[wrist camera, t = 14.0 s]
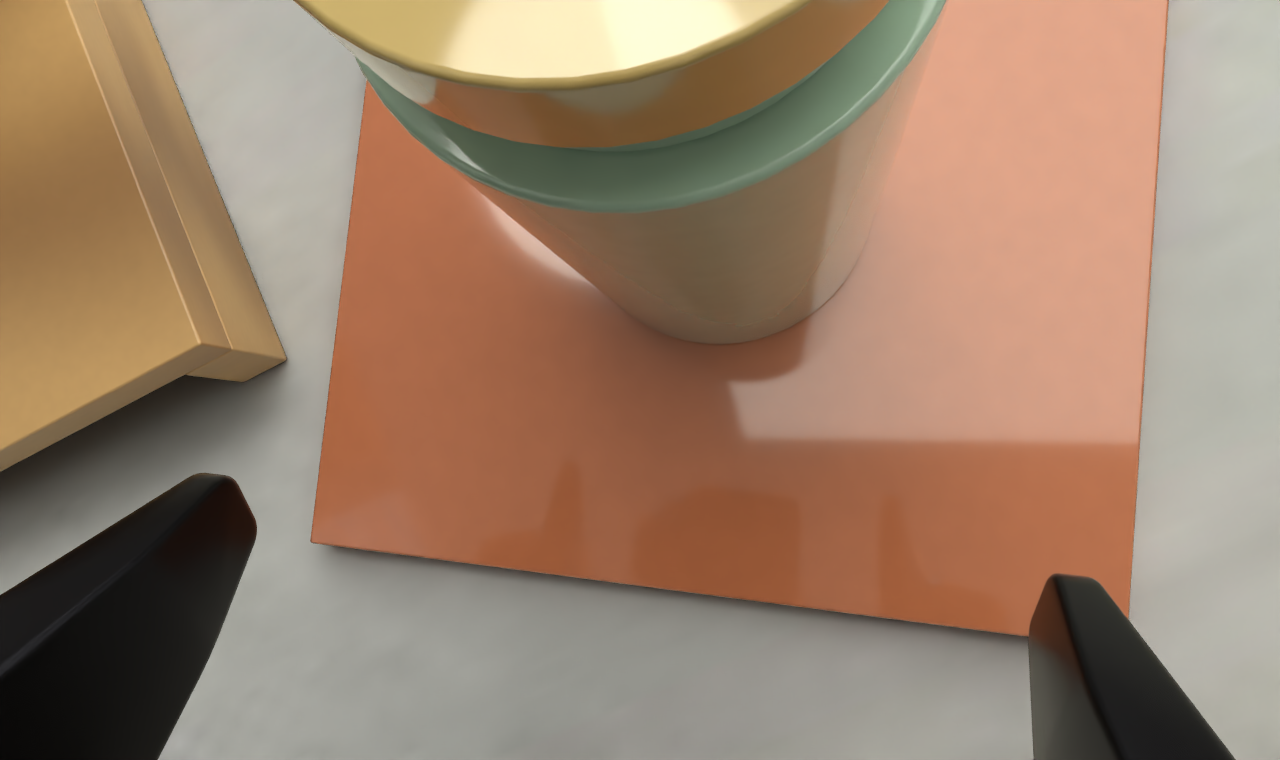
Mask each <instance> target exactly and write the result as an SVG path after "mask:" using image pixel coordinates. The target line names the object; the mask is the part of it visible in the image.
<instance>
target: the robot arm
mask: <svg viewBox="0 0 1280 760" xmlns="http://www.w3.org/2000/svg"><path fill="white" fill-rule="evenodd" d="M256 534H257V525H256V520H255V518H254V516H253V514H252V512H251V510H250V508H249V506H248V504H247V502H246V500H245V498H244V496H243V494H242V492H241V490H240V488H239V486H238V484H237V482H236V481H235V480H234V479H233V478H231V477H230V476H226V475H218V474H209V473H199V474H195V475H192V476H191V477H189V478H187V479H185V480H184V481H182V482H181V483H179V484H177V485H176V486H174V487H173V488H171V489H169V490H168V491H166V492H165V493H163V494H161V495H160V496H158V497H157V498H155V499H153V500H152V501H150V502H149V503H147V504H145V505H144V506H142V507H141V508H139V509H137V510H136V511H134V512H133V513H131V514H129V515H128V516H126V517H125V518H123V519H121V520H120V521H118V522H117V523H115V524H113V525H112V526H110V527H109V528H107V529H105V530H104V531H102V532H101V533H99V534H97V535H96V536H94V537H93V538H91V539H89V540H88V541H86V542H85V543H83V544H81V545H80V546H78V547H77V548H75V549H73V550H72V551H70V552H69V553H67V554H65V555H64V556H62V557H61V558H59V559H57V560H56V561H54V562H53V563H51V564H49V565H48V566H46V567H45V568H43V569H41V570H40V571H38V572H37V573H35V574H33V575H32V576H30V577H29V578H27V579H25V580H24V581H22V582H21V583H19V584H17V585H16V586H14V587H13V588H11V589H9V590H8V591H6V592H5V593H3V594H1V595H0V760H158V758H159V756H160V754H161V752H162V750H163V748H164V746H165V744H166V742H167V740H168V738H169V737H170V735H171V733H172V731H173V729H174V727H175V725H176V723H177V721H178V719H179V717H180V715H181V713H182V711H183V709H184V707H185V705H186V703H187V701H188V699H189V697H190V695H191V693H192V692H193V690H194V688H195V686H196V684H197V682H198V680H199V678H200V676H201V674H202V672H203V670H204V668H205V665H206V663H207V661H208V659H209V657H210V655H211V652H212V650H213V648H214V645H215V643H216V641H217V638H218V636H219V633H220V631H221V628H222V625H223V623H224V620H225V618H226V615H227V613H228V610H229V607H230V605H231V602H232V600H233V597H234V595H235V592H236V589H237V587H238V584H239V582H240V579H241V577H242V574H243V571H244V569H245V566H246V564H247V561H248V559H249V556H250V553H251V551H252V548H253V546H254V543H255V540H256ZM1028 649H1029V669H1030V690H1031V711H1032V732H1033V753H1034V760H1236V759H1235V758H1234V757H1233V756H1232V754H1231V753H1230V752H1229V750H1228V749H1227V748H1226V746H1225V745H1224V744H1223V743H1222V741H1221V740H1220V739H1219V737H1218V736H1217V735H1216V733H1215V732H1214V731H1213V729H1212V728H1211V727H1210V726H1209V724H1208V723H1207V722H1206V720H1205V719H1204V718H1203V716H1202V715H1201V714H1200V713H1199V711H1198V710H1197V709H1196V707H1195V706H1194V705H1193V703H1192V702H1191V701H1190V700H1189V698H1188V697H1187V696H1186V694H1185V693H1184V692H1183V690H1182V689H1181V688H1180V686H1179V685H1178V684H1177V683H1176V681H1175V680H1174V679H1173V677H1172V676H1171V675H1170V673H1169V672H1168V671H1167V670H1166V668H1165V667H1164V666H1163V664H1162V663H1161V662H1160V660H1159V659H1158V658H1157V656H1156V655H1155V654H1154V653H1153V651H1152V650H1151V649H1150V647H1149V646H1148V645H1147V643H1146V642H1145V641H1144V640H1143V638H1142V637H1141V636H1140V634H1139V633H1138V632H1137V630H1136V629H1135V628H1134V626H1133V625H1132V624H1131V623H1130V621H1129V620H1128V619H1127V617H1126V616H1125V615H1124V613H1123V612H1122V611H1121V610H1120V608H1119V607H1118V606H1117V604H1116V603H1115V602H1114V600H1113V599H1112V598H1111V596H1110V595H1109V594H1108V593H1107V591H1106V590H1105V589H1104V587H1103V586H1102V585H1101V584H1100V583H1099V582H1098V581H1097V580H1095V579H1093V578H1091V577H1087V576H1079V575H1070V574H1062V573H1054V574H1052V575H1051V576H1050V577H1049V578H1048V579H1047V581H1046V583H1045V585H1044V588H1043V590H1042V593H1041V596H1040V598H1039V601H1038V603H1037V606H1036V608H1035V611H1034V613H1033V616H1032V618H1031V621H1030V626H1029V634H1028Z"/></svg>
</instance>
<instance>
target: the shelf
mask: <svg viewBox="0 0 1280 760" xmlns="http://www.w3.org/2000/svg"><path fill="white" fill-rule="evenodd" d="M286 359H287V358H286V355H285V353H284V350H283V348H282V345H281V343H280V341H279V338H278V336H277V333H276V331H275V328H274V326H273V323H272V321H271V318H270V316H269V313H268V311H267V309H266V306H265V304H264V301H263V299H262V296H261V294H260V291H259V289H258V286H257V284H256V281H255V279H254V276H253V274H252V272H251V269H250V267H249V264H248V262H247V259H246V257H245V254H244V252H243V249H242V247H241V244H240V242H239V240H238V237H237V235H236V232H235V230H234V227H233V225H232V222H231V220H230V217H229V215H228V212H227V210H226V207H225V205H224V203H223V200H222V198H221V195H220V193H219V190H218V188H217V185H216V183H215V180H214V178H213V175H212V173H211V171H210V168H209V166H208V163H207V161H206V158H205V156H204V153H203V151H202V148H201V146H200V143H199V141H198V138H197V136H196V134H195V131H194V129H193V126H192V124H191V121H190V119H189V116H188V114H187V111H186V109H185V106H184V104H183V101H182V99H181V97H180V94H179V92H178V89H177V87H176V84H175V82H174V79H173V77H172V74H171V72H170V69H169V67H168V65H167V62H166V60H165V57H164V55H163V52H162V50H161V47H160V45H159V42H158V40H157V37H156V35H155V32H154V30H153V28H152V25H151V23H150V20H149V18H148V15H147V13H146V10H145V8H144V5H143V3H142V1H141V0H0V472H1V471H2V470H4V469H6V468H8V467H10V466H12V465H14V464H16V463H18V462H20V461H21V460H23V459H25V458H27V457H29V456H31V455H33V454H35V453H37V452H39V451H40V450H42V449H44V448H46V447H48V446H50V445H52V444H54V443H56V442H57V441H59V440H61V439H63V438H65V437H67V436H69V435H71V434H73V433H75V432H76V431H78V430H80V429H82V428H84V427H86V426H88V425H90V424H92V423H94V422H95V421H97V420H99V419H101V418H103V417H105V416H107V415H109V414H111V413H113V412H114V411H116V410H118V409H120V408H122V407H124V406H126V405H128V404H130V403H131V402H133V401H135V400H137V399H139V398H141V397H143V396H145V395H147V394H149V393H150V392H152V391H154V390H156V389H158V388H160V387H162V386H164V385H166V384H168V383H169V382H171V381H173V380H175V379H177V378H179V377H181V376H183V375H185V374H186V375H190V376H198V377H206V378H214V379H222V380H230V381H238V382H245V381H247V380H249V379H251V378H253V377H255V376H257V375H259V374H260V373H262V372H264V371H266V370H268V369H270V368H272V367H274V366H276V365H278V364H280V363H282V362H284V361H285V360H286Z"/></svg>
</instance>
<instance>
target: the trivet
mask: <svg viewBox="0 0 1280 760" xmlns="http://www.w3.org/2000/svg"><path fill="white" fill-rule="evenodd" d="M1168 4H1169V0H949V2H948V5H947V8H946V11H945V14H944V17H943V20H942V23H941V26H940V28H939V31H938V34H937V37H936V40H935V43H934V46H933V49H932V52H931V55H930V58H929V61H928V64H927V66H926V69H925V72H924V75H923V78H922V81H921V84H920V87H919V90H918V93H917V96H916V99H915V102H914V104H913V107H912V110H911V113H910V116H909V119H908V122H907V125H906V128H905V131H904V134H903V137H902V140H901V142H900V145H899V148H898V151H897V154H896V157H895V160H894V163H893V166H892V169H891V172H890V175H889V178H888V180H887V183H886V186H885V189H884V192H883V195H882V198H881V201H880V204H879V207H878V210H877V213H876V215H875V218H874V221H873V224H872V227H871V230H870V233H869V236H868V239H867V242H866V245H865V247H864V249H863V251H862V253H861V255H860V257H859V259H858V262H857V263H856V265H855V267H854V268H853V270H852V271H851V273H850V274H849V276H848V277H847V279H846V280H845V282H844V283H843V284H842V285H841V286H840V288H839V289H838V290H837V291H836V292H835V293H834V295H833V296H832V297H831V298H830V299H828V300H827V301H826V302H825V303H824V304H823V305H822V306H821V307H820V308H819V309H818V310H816V311H815V312H813V313H812V314H810V315H809V316H808V317H806V318H805V319H803V320H802V321H800V322H798V323H796V324H795V325H793V326H791V327H789V328H787V329H785V330H783V331H781V332H778V333H775V334H773V335H770V336H767V337H765V338H761V339H757V340H752V341H748V342H743V343H733V344H702V343H696V342H690V341H684V340H681V339H677V338H674V337H671V336H667V335H665V334H662V333H660V332H658V331H656V330H654V329H651V328H649V327H647V326H646V325H644V324H643V323H641V322H639V321H638V320H636V319H635V318H633V317H632V316H630V315H629V314H628V313H627V312H625V311H624V310H623V309H622V308H621V307H619V306H618V305H617V304H616V303H614V302H613V301H612V300H611V299H610V298H608V297H607V296H606V295H605V294H604V293H602V292H601V291H600V290H599V289H597V288H596V287H595V286H594V285H593V284H591V283H590V282H589V281H588V280H586V279H585V278H584V277H583V276H582V275H580V274H579V273H578V272H577V271H575V270H574V269H573V268H572V267H571V266H569V265H568V264H567V263H566V262H565V261H563V260H562V259H561V258H560V257H558V256H557V255H556V254H555V253H554V252H552V251H551V250H550V249H549V248H547V247H546V246H545V245H544V244H543V243H541V242H540V241H539V240H538V239H537V238H535V237H534V236H533V235H532V234H530V233H529V232H528V231H527V230H526V229H524V228H523V227H522V226H521V225H519V224H518V223H517V222H516V221H515V220H513V219H512V218H511V217H510V216H508V215H507V214H506V213H505V212H504V211H502V210H501V209H500V208H499V207H498V206H496V205H495V204H494V203H493V202H491V201H490V200H489V199H488V198H487V197H485V196H484V195H483V194H482V193H480V192H479V191H478V190H477V189H476V188H474V187H473V186H472V185H471V184H470V183H468V182H467V181H466V180H465V179H463V178H462V177H461V176H460V175H459V174H457V173H456V172H455V171H454V170H452V169H451V168H450V167H449V166H448V165H446V164H445V163H444V162H443V161H442V160H440V159H439V158H438V157H437V156H435V155H434V154H433V153H432V152H431V151H430V150H428V149H427V148H426V147H425V146H424V145H422V144H421V143H420V142H419V141H418V140H416V139H415V138H414V137H413V136H412V135H410V134H409V133H408V131H407V130H406V129H405V128H404V127H403V126H402V125H401V124H400V122H399V121H398V120H397V119H396V118H395V117H394V116H393V115H392V114H391V112H390V111H389V110H388V109H387V108H386V107H385V106H384V104H383V103H382V101H381V100H380V98H379V97H378V95H377V94H376V92H375V91H374V89H373V88H372V86H371V85H370V83H369V82H368V81H366V89H365V97H364V105H363V113H362V122H361V130H360V138H359V146H358V154H357V163H356V171H355V179H354V187H353V195H352V204H351V212H350V220H349V228H348V237H347V245H346V253H345V261H344V269H343V278H342V286H341V294H340V302H339V310H338V319H337V327H336V335H335V343H334V351H333V360H332V368H331V376H330V384H329V392H328V401H327V409H326V417H325V425H324V433H323V442H322V450H321V458H320V466H319V475H318V483H317V491H316V499H315V507H314V516H313V524H312V532H311V540H310V541H311V542H312V543H315V544H323V545H331V546H338V547H346V548H353V549H361V550H369V551H376V552H384V553H392V554H399V555H407V556H414V557H422V558H430V559H437V560H445V561H453V562H460V563H468V564H476V565H483V566H491V567H498V568H506V569H514V570H521V571H529V572H537V573H544V574H552V575H560V576H567V577H575V578H582V579H590V580H598V581H605V582H613V583H621V584H628V585H636V586H644V587H651V588H659V589H666V590H674V591H682V592H689V593H697V594H705V595H712V596H720V597H727V598H735V599H743V600H750V601H758V602H766V603H773V604H781V605H789V606H796V607H804V608H811V609H819V610H827V611H834V612H842V613H850V614H857V615H865V616H873V617H880V618H888V619H895V620H903V621H911V622H918V623H926V624H934V625H941V626H949V627H957V628H964V629H972V630H979V631H987V632H995V633H1002V634H1010V635H1018V636H1025V637H1028V634H1029V626H1030V621H1031V618H1032V616H1033V613H1034V611H1035V608H1036V606H1037V603H1038V601H1039V598H1040V596H1041V593H1042V590H1043V588H1044V585H1045V583H1046V581H1047V579H1048V578H1049V577H1050V576H1051V575H1052V574H1054V573H1062V574H1070V575H1079V576H1087V577H1091V578H1093V579H1095V580H1097V581H1098V582H1099V583H1100V584H1101V585H1102V586H1103V587H1104V589H1105V590H1106V591H1107V593H1108V594H1109V595H1110V596H1111V598H1112V599H1113V600H1114V602H1115V603H1116V604H1117V606H1118V607H1119V608H1120V610H1121V611H1122V612H1123V613H1124V615H1125V616H1126V617H1127V619H1128V618H1129V603H1130V588H1131V572H1132V557H1133V542H1134V526H1135V511H1136V496H1137V480H1138V465H1139V449H1140V434H1141V419H1142V403H1143V388H1144V373H1145V357H1146V342H1147V327H1148V311H1149V296H1150V281H1151V265H1152V250H1153V235H1154V219H1155V204H1156V189H1157V173H1158V158H1159V143H1160V127H1161V112H1162V96H1163V81H1164V66H1165V50H1166V35H1167V20H1168Z"/></svg>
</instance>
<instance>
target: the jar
mask: <svg viewBox="0 0 1280 760" xmlns="http://www.w3.org/2000/svg"><path fill="white" fill-rule="evenodd" d="M293 1H294V2H296V3H297V4H298V5H299V6H300V7H301V8H302V9H303V10H304V11H306V12H307V13H308V14H309V15H310V16H311V17H312V18H313V19H314V20H316V21H317V22H318V23H319V24H320V25H321V26H322V27H323V28H325V29H326V30H327V31H328V32H329V33H330V34H331V35H332V36H333V37H335V38H336V39H337V40H338V41H339V42H340V43H341V44H342V45H343V46H345V47H346V48H347V49H348V50H349V51H350V52H351V53H352V54H353V55H354V56H355V58H356V60H357V62H358V64H359V67H360V69H361V71H362V73H363V75H364V76H365V78H366V79H367V81H368V82H369V83H370V85H371V86H372V88H373V89H374V91H375V92H376V94H377V95H378V97H379V98H380V100H381V101H382V103H383V104H384V106H385V107H386V108H387V109H388V110H389V111H390V112H391V114H392V115H393V116H394V117H395V118H396V119H397V120H398V121H399V122H400V124H401V125H402V126H403V127H404V128H405V129H406V130H407V131H408V133H409V134H410V135H412V136H413V137H414V138H415V139H416V140H418V141H419V142H420V143H421V144H422V145H424V146H425V147H426V148H427V149H428V150H430V151H431V152H432V153H433V154H434V155H435V156H437V157H438V158H439V159H440V160H442V161H443V162H444V163H445V164H446V165H448V166H449V167H450V168H451V169H452V170H454V171H455V172H456V173H457V174H459V175H460V176H461V177H462V178H463V179H465V180H466V181H467V182H468V183H470V184H471V185H472V186H473V187H474V188H476V189H477V190H478V191H479V192H480V193H482V194H483V195H484V196H485V197H487V198H488V199H489V200H490V201H491V202H493V203H494V204H495V205H496V206H498V207H499V208H500V209H501V210H502V211H504V212H505V213H506V214H507V215H508V216H510V217H511V218H512V219H513V220H515V221H516V222H517V223H518V224H519V225H521V226H522V227H523V228H524V229H526V230H527V231H528V232H529V233H530V234H532V235H533V236H534V237H535V238H537V239H538V240H539V241H540V242H541V243H543V244H544V245H545V246H546V247H547V248H549V249H550V250H551V251H552V252H554V253H555V254H556V255H557V256H558V257H560V258H561V259H562V260H563V261H565V262H566V263H567V264H568V265H569V266H571V267H572V268H573V269H574V270H575V271H577V272H578V273H579V274H580V275H582V276H583V277H584V278H585V279H586V280H588V281H589V282H590V283H591V284H593V285H594V286H595V287H596V288H597V289H599V290H600V291H601V292H602V293H604V294H605V295H606V296H607V297H608V298H610V299H611V300H612V301H613V302H614V303H616V304H617V305H618V306H619V307H621V308H622V309H623V310H624V311H625V312H627V313H628V314H629V315H630V316H632V317H633V318H635V319H636V320H638V321H639V322H641V323H643V324H644V325H646V326H647V327H649V328H651V329H654V330H656V331H658V332H660V333H662V334H665V335H667V336H671V337H674V338H677V339H681V340H684V341H690V342H696V343H702V344H733V343H743V342H748V341H752V340H757V339H761V338H765V337H767V336H770V335H773V334H775V333H778V332H781V331H783V330H785V329H787V328H789V327H791V326H793V325H795V324H796V323H798V322H800V321H802V320H803V319H805V318H806V317H808V316H809V315H810V314H812V313H813V312H815V311H816V310H818V309H819V308H820V307H821V306H822V305H823V304H824V303H825V302H826V301H827V300H828V299H830V298H831V297H832V296H833V295H834V293H835V292H836V291H837V290H838V289H839V288H840V286H841V285H842V284H843V283H844V282H845V280H846V279H847V277H848V276H849V274H850V273H851V271H852V270H853V268H854V267H855V265H856V263H857V262H858V259H859V257H860V255H861V253H862V251H863V249H864V247H865V245H866V242H867V239H868V236H869V233H870V230H871V227H872V224H873V221H874V218H875V215H876V213H877V210H878V207H879V204H880V201H881V198H882V195H883V192H884V189H885V186H886V183H887V180H888V178H889V175H890V172H891V169H892V166H893V163H894V160H895V157H896V154H897V151H898V148H899V145H900V142H901V140H902V137H903V134H904V131H905V128H906V125H907V122H908V119H909V116H910V113H911V110H912V107H913V104H914V102H915V99H916V96H917V93H918V90H919V87H920V84H921V81H922V78H923V75H924V72H925V69H926V66H927V64H928V61H929V58H930V55H931V52H932V49H933V46H934V43H935V40H936V37H937V34H938V31H939V28H940V26H941V23H942V20H943V17H944V14H945V11H946V8H947V5H948V2H949V0H293Z"/></svg>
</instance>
